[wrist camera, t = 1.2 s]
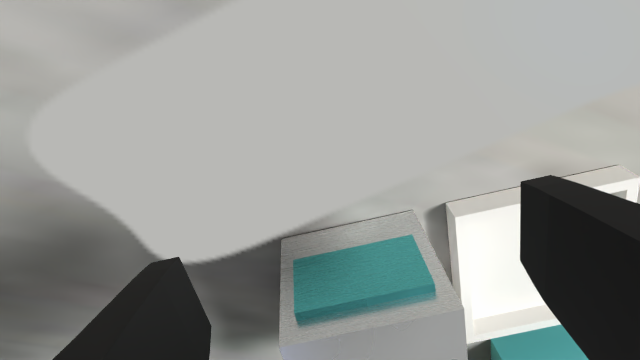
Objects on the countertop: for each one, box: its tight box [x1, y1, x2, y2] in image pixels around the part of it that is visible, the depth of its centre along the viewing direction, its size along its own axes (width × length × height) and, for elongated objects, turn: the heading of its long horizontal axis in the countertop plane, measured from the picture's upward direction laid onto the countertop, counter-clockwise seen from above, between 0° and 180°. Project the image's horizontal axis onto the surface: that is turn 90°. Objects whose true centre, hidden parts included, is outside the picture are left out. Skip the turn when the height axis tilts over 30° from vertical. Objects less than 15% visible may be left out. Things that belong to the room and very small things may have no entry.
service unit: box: [279, 210, 468, 360], centre depth 14 cm, size 4×5×5 cm
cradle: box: [446, 165, 640, 344], centre depth 16 cm, size 6×6×1 cm
